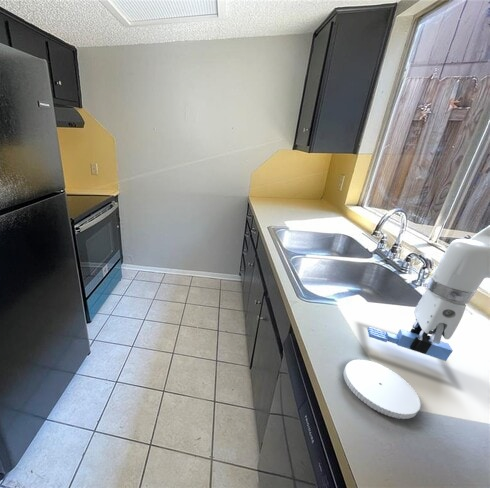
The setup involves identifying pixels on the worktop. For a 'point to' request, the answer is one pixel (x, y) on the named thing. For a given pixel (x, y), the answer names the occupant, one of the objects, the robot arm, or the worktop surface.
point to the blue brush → (406, 340)
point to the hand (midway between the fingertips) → (415, 346)
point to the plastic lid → (381, 389)
